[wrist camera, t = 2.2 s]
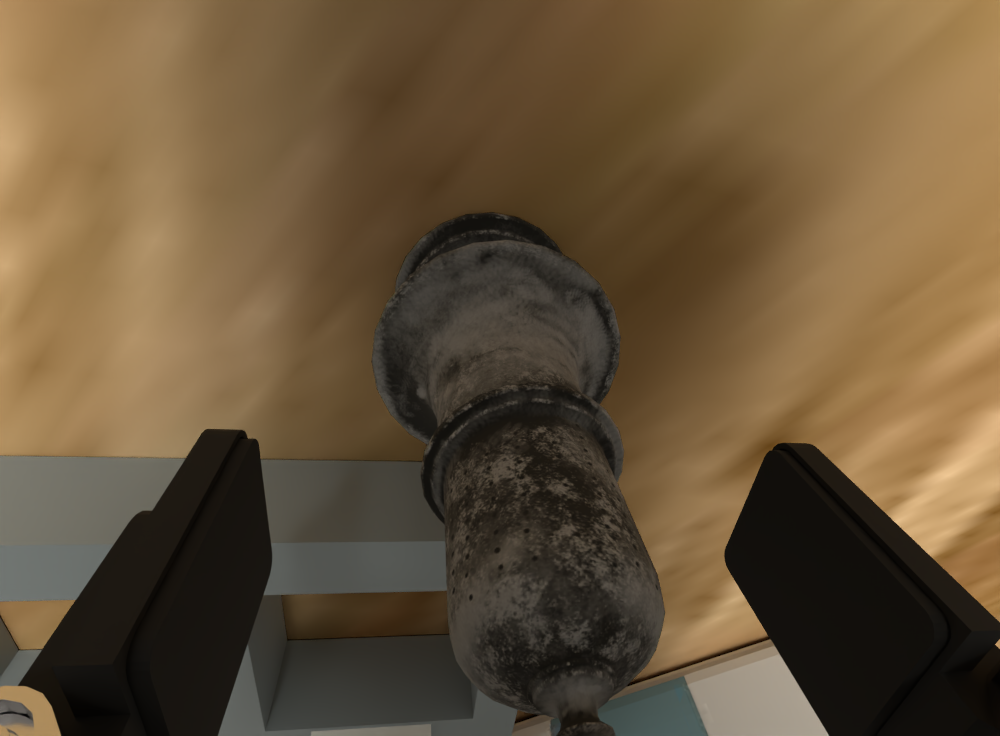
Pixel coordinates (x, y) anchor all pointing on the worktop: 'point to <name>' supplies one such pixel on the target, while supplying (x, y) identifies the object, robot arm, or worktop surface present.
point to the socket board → (268, 588)
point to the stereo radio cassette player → (707, 701)
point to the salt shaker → (522, 465)
